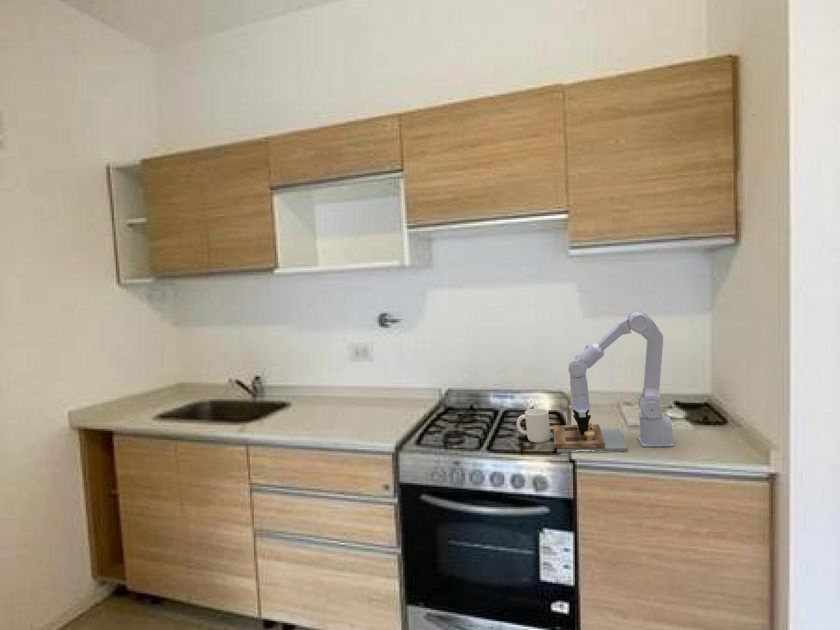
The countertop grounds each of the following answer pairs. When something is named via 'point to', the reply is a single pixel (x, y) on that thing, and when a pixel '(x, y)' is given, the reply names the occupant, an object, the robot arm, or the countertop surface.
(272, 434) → the countertop surface
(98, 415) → the countertop surface
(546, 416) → the mug
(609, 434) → the boss board
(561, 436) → the panel
